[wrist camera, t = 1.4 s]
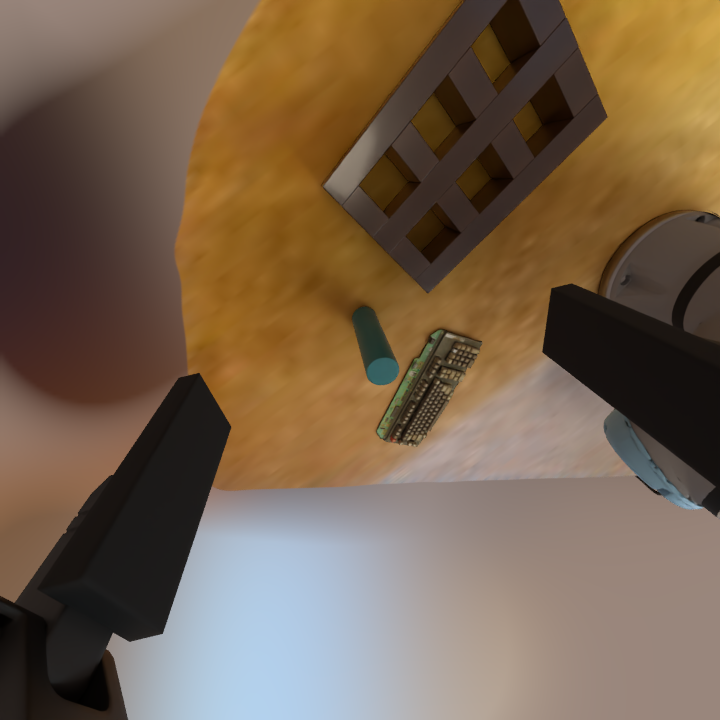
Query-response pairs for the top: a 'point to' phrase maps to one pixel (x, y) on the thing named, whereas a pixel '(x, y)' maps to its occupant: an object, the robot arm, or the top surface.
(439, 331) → the keyboard
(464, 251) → the peg board
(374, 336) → the peg
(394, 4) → the top surface
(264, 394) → the top surface
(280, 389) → the top surface
